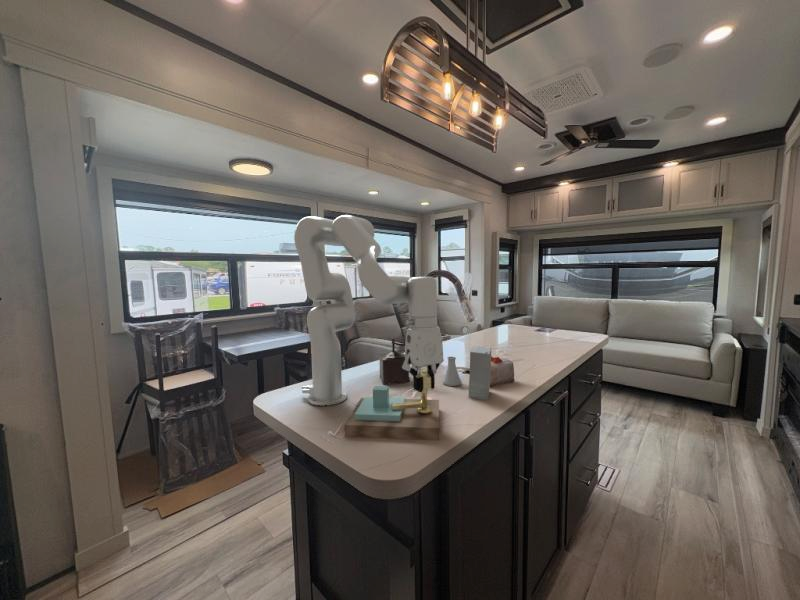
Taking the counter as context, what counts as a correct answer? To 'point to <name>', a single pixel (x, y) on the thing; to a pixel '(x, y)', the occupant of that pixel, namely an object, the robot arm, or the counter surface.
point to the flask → (451, 373)
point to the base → (398, 424)
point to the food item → (501, 371)
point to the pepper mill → (393, 366)
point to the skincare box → (479, 372)
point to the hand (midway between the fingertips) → (424, 388)
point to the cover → (379, 406)
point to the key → (422, 404)
